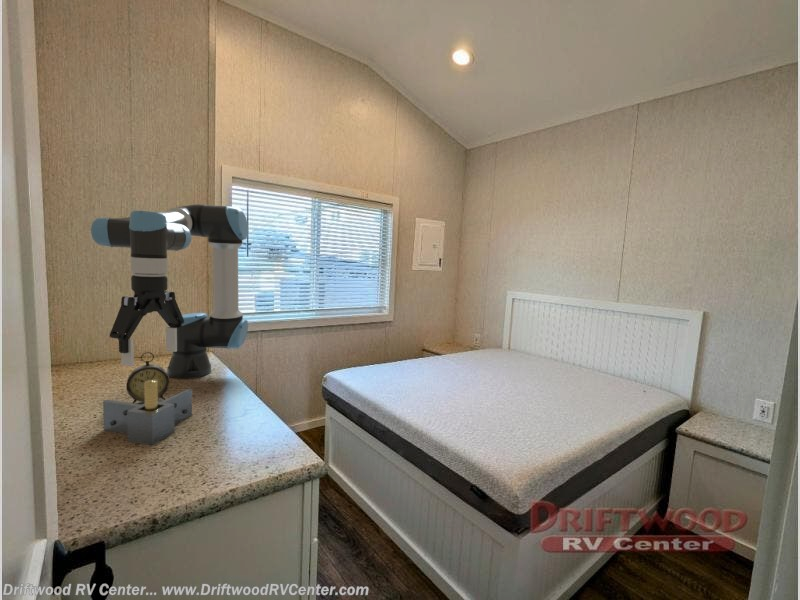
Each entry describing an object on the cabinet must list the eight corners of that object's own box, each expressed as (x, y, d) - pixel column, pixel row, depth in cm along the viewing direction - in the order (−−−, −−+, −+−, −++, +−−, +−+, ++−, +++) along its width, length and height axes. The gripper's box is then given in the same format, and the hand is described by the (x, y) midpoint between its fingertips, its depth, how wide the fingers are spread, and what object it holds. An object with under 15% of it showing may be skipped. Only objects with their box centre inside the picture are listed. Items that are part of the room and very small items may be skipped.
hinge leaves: (149, 408, 115) (148, 383, 114) (201, 416, 112) (201, 390, 111) (93, 435, 97) (92, 405, 96) (152, 445, 94) (152, 414, 94)
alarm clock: (126, 408, 114) (125, 355, 112) (127, 401, 118) (126, 351, 117) (169, 402, 120) (168, 352, 118) (168, 396, 124) (168, 348, 122)
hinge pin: (151, 433, 100) (150, 379, 98) (160, 435, 100) (160, 380, 98) (142, 438, 97) (141, 382, 96) (151, 440, 97) (151, 383, 95)
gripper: (174, 271, 106) (175, 344, 109) (87, 276, 82) (91, 370, 85) (198, 273, 105) (198, 347, 108) (116, 279, 81) (119, 374, 83)
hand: (151, 357), depth 96 cm, fingers open, 13 cm apart
